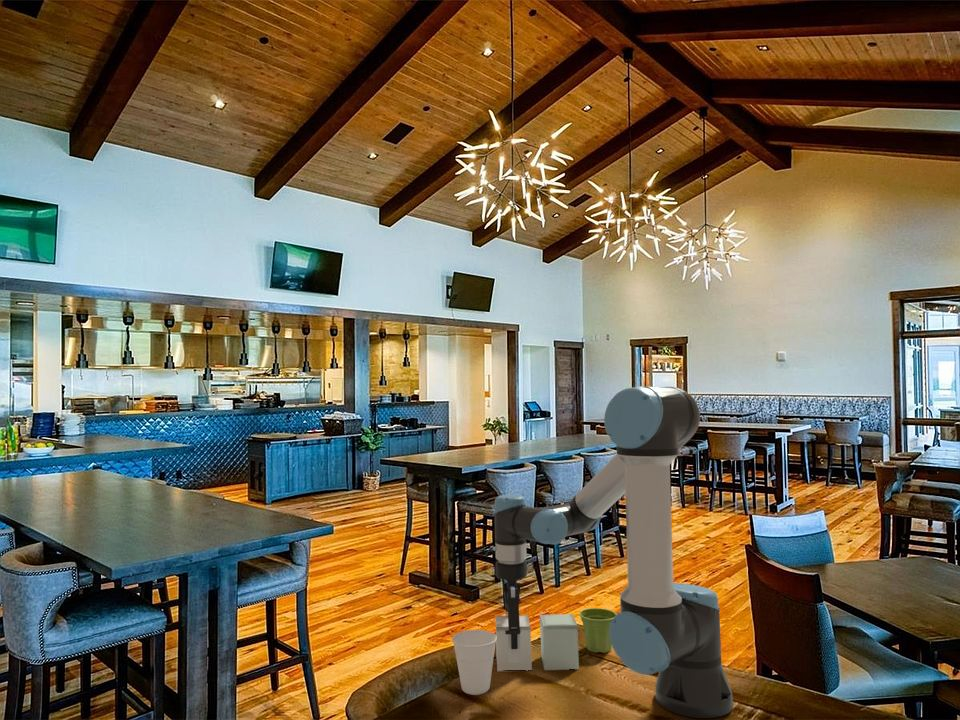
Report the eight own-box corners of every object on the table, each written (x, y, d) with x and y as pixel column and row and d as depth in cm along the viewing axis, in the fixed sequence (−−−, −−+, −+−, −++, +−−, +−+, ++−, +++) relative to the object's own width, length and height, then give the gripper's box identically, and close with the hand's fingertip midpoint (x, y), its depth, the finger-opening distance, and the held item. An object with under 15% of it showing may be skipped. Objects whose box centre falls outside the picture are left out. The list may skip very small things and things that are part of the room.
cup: (499, 679, 142) (498, 629, 143) (496, 700, 132) (495, 646, 133) (456, 679, 143) (455, 629, 144) (449, 699, 133) (448, 645, 134)
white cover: (531, 670, 147) (530, 626, 147) (497, 671, 147) (496, 627, 147) (529, 656, 155) (527, 615, 155) (496, 657, 155) (495, 615, 155)
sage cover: (578, 669, 147) (577, 625, 148) (544, 670, 147) (543, 626, 147) (573, 655, 155) (572, 614, 155) (541, 656, 155) (540, 614, 155)
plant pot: (596, 639, 165) (595, 605, 166) (626, 649, 158) (624, 613, 159) (572, 648, 159) (571, 613, 160) (601, 659, 152) (600, 622, 153)
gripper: (494, 548, 165) (495, 632, 163) (496, 574, 140) (498, 673, 139) (522, 548, 165) (524, 631, 164) (530, 573, 140) (532, 672, 139)
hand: (512, 650), depth 151 cm, fingers open, 13 cm apart
